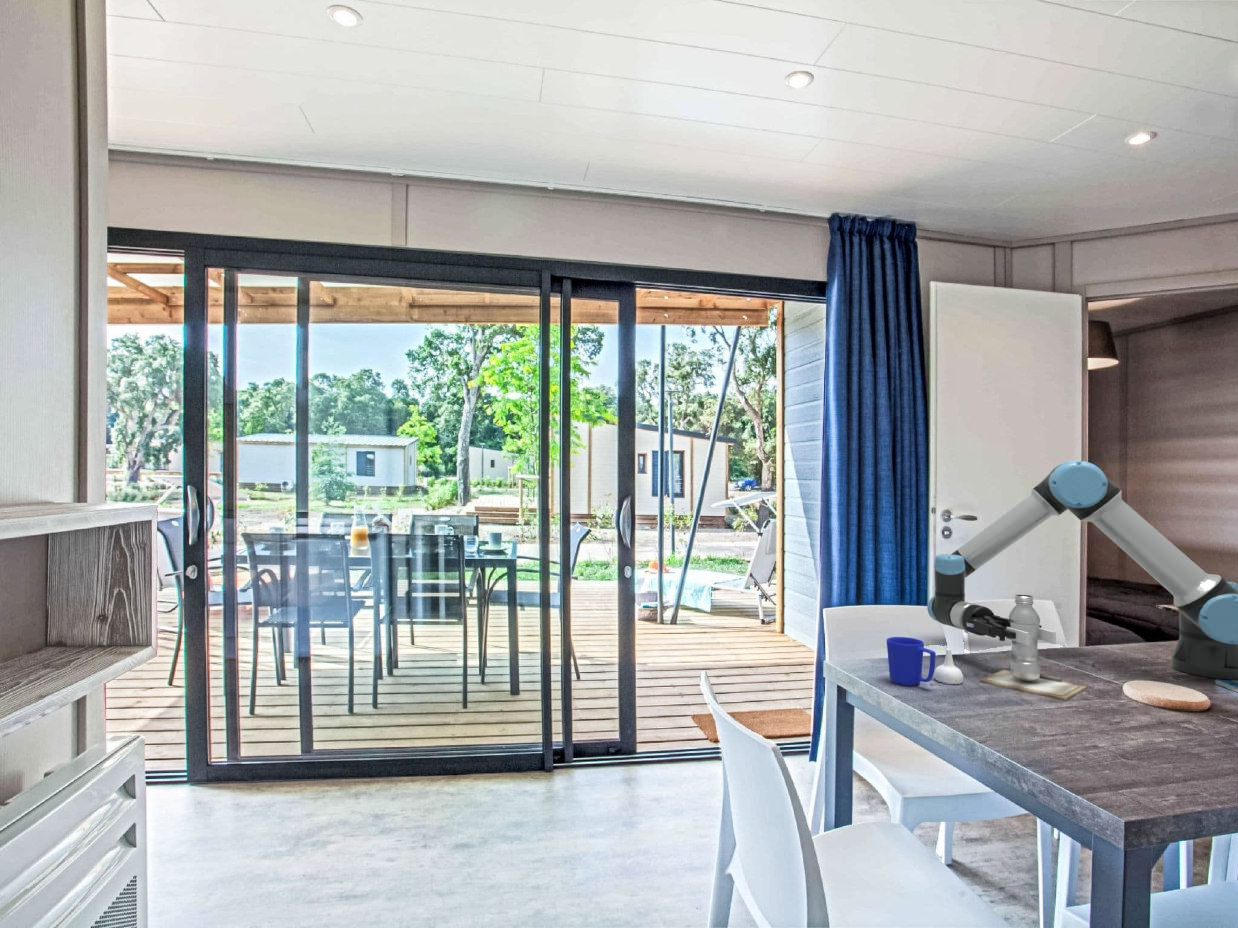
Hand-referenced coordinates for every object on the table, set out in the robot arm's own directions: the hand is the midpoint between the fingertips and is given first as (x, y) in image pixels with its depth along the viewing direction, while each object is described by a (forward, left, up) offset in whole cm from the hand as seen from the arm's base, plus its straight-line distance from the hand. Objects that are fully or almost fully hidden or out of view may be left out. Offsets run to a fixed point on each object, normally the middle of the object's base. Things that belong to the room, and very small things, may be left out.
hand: (1041, 638), depth 156 cm
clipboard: (+3, -3, -12) cm, 13 cm away
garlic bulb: (+17, +9, -12) cm, 23 cm away
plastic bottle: (+4, -3, -11) cm, 12 cm away
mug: (+21, +19, -12) cm, 31 cm away
